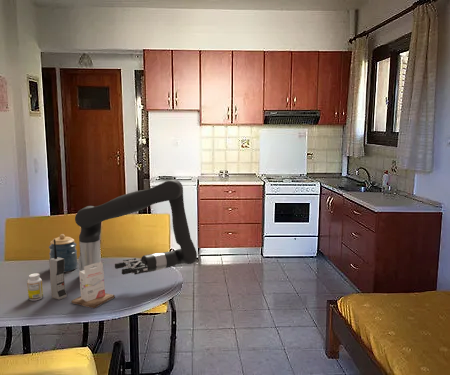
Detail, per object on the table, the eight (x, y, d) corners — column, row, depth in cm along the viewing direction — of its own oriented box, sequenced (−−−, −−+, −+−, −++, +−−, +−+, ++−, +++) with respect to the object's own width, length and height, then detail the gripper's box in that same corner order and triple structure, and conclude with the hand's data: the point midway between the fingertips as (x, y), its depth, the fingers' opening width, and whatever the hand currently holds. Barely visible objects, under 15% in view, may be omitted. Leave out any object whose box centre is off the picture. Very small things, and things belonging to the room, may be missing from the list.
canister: (82, 265, 221) (81, 231, 219) (68, 273, 209) (66, 238, 206) (60, 263, 224) (58, 230, 222) (44, 271, 212) (42, 236, 209)
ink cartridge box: (99, 292, 182) (97, 259, 179) (105, 296, 178) (103, 261, 176) (80, 298, 176) (78, 263, 173) (86, 302, 172) (84, 266, 170)
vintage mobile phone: (59, 300, 177) (55, 241, 173) (51, 297, 179) (47, 239, 176) (66, 297, 180) (63, 239, 176) (59, 294, 183) (55, 237, 179)
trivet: (71, 302, 174) (71, 300, 174) (92, 292, 185) (92, 290, 184) (94, 308, 169) (93, 305, 168) (114, 297, 179) (114, 294, 179)
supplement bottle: (36, 295, 182) (34, 271, 181) (46, 297, 180) (44, 273, 179) (25, 299, 177) (23, 276, 176) (35, 302, 175) (33, 277, 174)
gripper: (147, 250, 195) (112, 256, 187) (160, 258, 184) (124, 265, 175) (147, 266, 197) (113, 272, 188) (161, 275, 185) (124, 282, 176)
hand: (118, 269), depth 181 cm, fingers open, 8 cm apart
